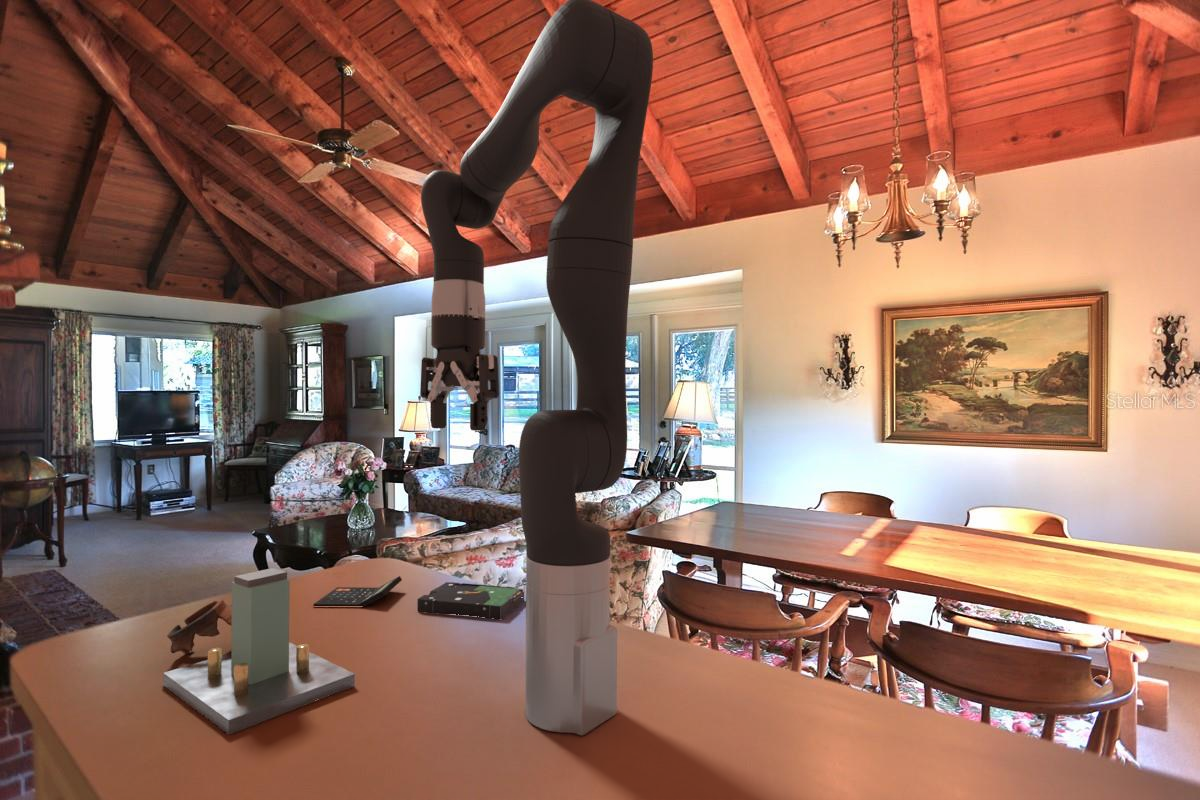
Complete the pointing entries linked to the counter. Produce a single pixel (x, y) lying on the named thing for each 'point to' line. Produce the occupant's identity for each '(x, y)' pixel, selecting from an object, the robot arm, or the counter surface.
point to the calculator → (356, 595)
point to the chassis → (254, 687)
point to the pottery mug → (200, 625)
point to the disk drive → (471, 600)
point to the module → (261, 623)
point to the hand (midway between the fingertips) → (457, 429)
